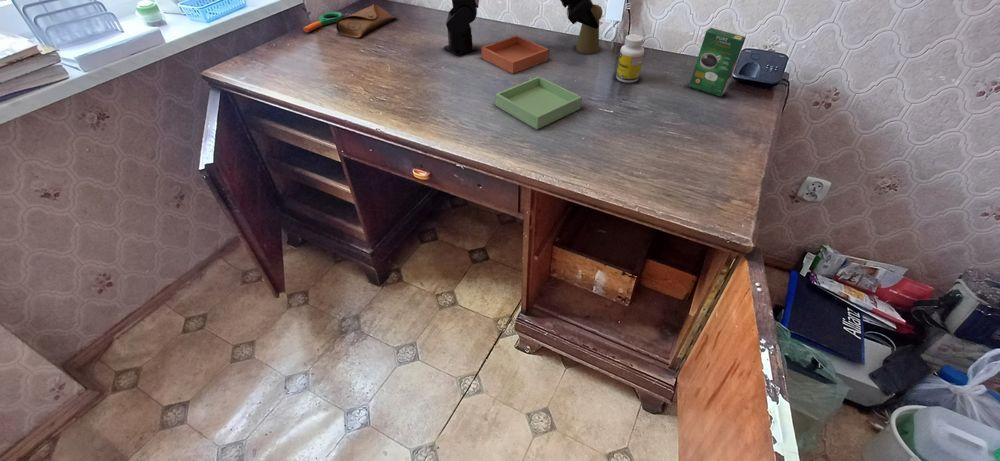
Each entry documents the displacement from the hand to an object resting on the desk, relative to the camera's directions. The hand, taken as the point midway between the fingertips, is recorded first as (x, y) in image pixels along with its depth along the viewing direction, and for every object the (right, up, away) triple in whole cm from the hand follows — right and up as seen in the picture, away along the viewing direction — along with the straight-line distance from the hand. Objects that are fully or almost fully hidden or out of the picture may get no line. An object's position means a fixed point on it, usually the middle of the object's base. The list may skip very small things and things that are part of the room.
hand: (595, 23), depth 121 cm
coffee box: (+23, -21, -13) cm, 34 cm away
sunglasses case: (-64, +7, +17) cm, 66 cm away
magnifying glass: (-77, +8, +18) cm, 80 cm away
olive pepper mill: (-1, -5, +5) cm, 7 cm away
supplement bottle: (+6, -17, -8) cm, 20 cm away
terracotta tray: (-21, -9, 0) cm, 23 cm away
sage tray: (-17, -26, -18) cm, 36 cm away
